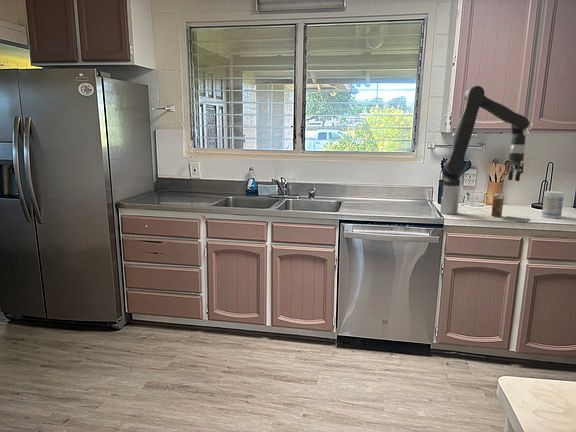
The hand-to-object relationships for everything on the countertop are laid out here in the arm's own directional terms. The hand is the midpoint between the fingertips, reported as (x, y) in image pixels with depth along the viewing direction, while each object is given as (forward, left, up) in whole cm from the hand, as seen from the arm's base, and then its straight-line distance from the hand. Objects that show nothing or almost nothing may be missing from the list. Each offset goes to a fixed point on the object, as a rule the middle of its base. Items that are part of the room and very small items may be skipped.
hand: (513, 180), depth 245 cm
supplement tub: (+20, +9, -21) cm, 30 cm away
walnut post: (-5, -10, -21) cm, 23 cm away
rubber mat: (+6, -12, -21) cm, 25 cm away
